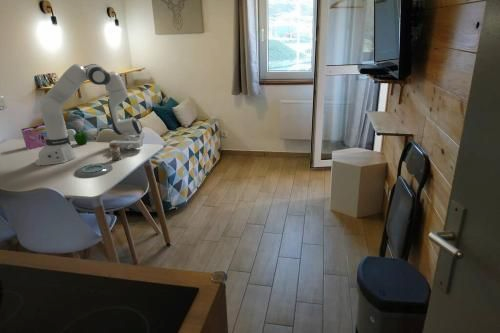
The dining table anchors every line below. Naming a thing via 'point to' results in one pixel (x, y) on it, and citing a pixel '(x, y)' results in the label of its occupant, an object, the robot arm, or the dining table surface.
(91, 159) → the dining table surface
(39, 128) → the gum box
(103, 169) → the grey plate
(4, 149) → the dining table surface
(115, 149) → the bead spool
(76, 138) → the green shrub
